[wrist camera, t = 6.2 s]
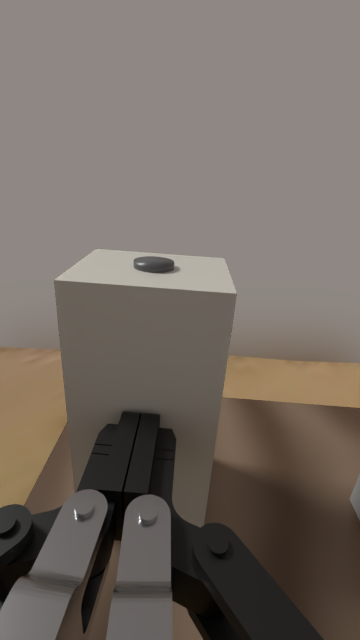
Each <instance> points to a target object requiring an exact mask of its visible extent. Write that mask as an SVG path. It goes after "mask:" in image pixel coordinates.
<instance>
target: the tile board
mask: <svg viewBox="0 0 360 640" xmlns="http://www.w3.org/2000/svg"><path fill="white" fill-rule="evenodd" d="M359 474H360V408H351V407H338V406H325V405H313V404H300V403H287V402H274V401H262V400H249V399H236V398H224V397H222V402H221V409H220V416H219V423H218V430H217V437H216V444H215V451H214V458H213V465H212V472H211V479H210V486H209V493H208V500H207V507H206V514H205V521H204V525H205V524H208V523H220V524H223V525H225V526H227V527H229V528H230V529H231V530H233V532H234V533H235V534H236V535H237V536H238V537H239V538H240V540H241V541H242V542H243V543H244V544H245V546H246V547H247V548H248V549H249V550H250V552H251V553H252V554H253V555H254V556H255V558H256V559H257V560H258V561H259V562H260V564H261V565H262V566H263V567H264V568H265V570H266V571H267V572H268V573H269V574H270V576H271V577H272V578H273V579H274V580H275V582H276V583H277V584H278V585H279V586H280V588H281V589H282V590H283V591H284V592H285V594H286V595H287V596H288V597H289V598H290V600H291V601H292V602H293V603H294V604H295V606H296V607H297V608H298V609H299V610H300V612H301V613H302V614H303V615H304V616H305V618H306V619H307V620H308V621H309V622H310V624H311V625H312V626H313V627H314V628H315V630H316V631H317V632H318V633H319V634H320V636H321V637H322V638H323V639H324V640H360V520H359V518H358V516H357V514H356V512H355V510H354V508H353V506H352V503H351V501H350V497H351V494H352V492H353V489H354V487H355V484H356V482H357V479H358V476H359ZM73 494H74V483H73V473H72V462H71V452H70V441H69V431H68V422H67V424H66V426H65V427H64V429H63V431H62V433H61V435H60V437H59V439H58V441H57V443H56V445H55V447H54V449H53V451H52V452H51V454H50V456H49V458H48V460H47V462H46V464H45V466H44V468H43V470H42V472H41V474H40V476H39V477H38V479H37V481H36V483H35V485H34V487H33V489H32V491H31V493H30V495H29V497H28V499H27V501H26V502H25V504H24V506H25V507H26V508H27V509H28V510H29V511H30V513H31V515H33V514H37V513H42V512H46V511H50V510H54V509H56V508H59V507H61V506H62V505H63V504H64V502H65V501H66V500H67V499H68V498H69V497H70V496H71V495H73ZM120 548H121V541H118V540H114V544H113V548H112V553H111V557H110V564H109V569H108V572H107V576H106V579H105V582H104V586H103V589H102V593H101V596H100V600H99V603H98V606H97V610H96V613H95V617H94V620H93V623H92V627H91V630H90V634H89V637H88V640H106V636H107V628H108V621H109V614H110V607H111V600H112V594H113V590H114V589H115V585H116V579H117V571H118V564H119V556H120ZM172 618H173V640H203V638H202V636H201V635H200V633H199V631H198V630H197V628H196V626H195V624H194V623H193V621H192V619H191V618H190V616H189V614H188V611H187V608H185V607H183V606H181V605H179V604H178V603H176V602H174V601H172Z"/></svg>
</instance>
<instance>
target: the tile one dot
mask: <svg viewBox="0 0 360 640" xmlns="http://www.w3.org/2000/svg"><path fill="white" fill-rule="evenodd" d="M54 285H55V296H56V306H57V316H58V326H59V336H60V348H61V358H62V369H63V379H64V389H65V400H66V410H67V421H68V431H69V441H70V452H71V462H72V473H73V483H74V493H76V491H77V489H78V486H79V483H80V481H81V478H82V476H83V473H84V470H85V468H86V465H87V462H88V460H89V457H90V455H91V452H92V449H93V447H94V445H95V441H96V439H97V436H98V433H99V432H100V431H101V430H102V429H103V428H104V427H105V426H106V425H107V424H119V420H120V417H121V414H122V412H123V411H127V412H139V413H141V415H142V413H152V414H160V428H169V429H172V430H173V432H174V435H175V437H176V451H175V465H174V478H173V491H172V502H173V506H174V509H175V510H176V512H177V513H178V515H179V516H180V517H181V518H182V519H184V520H185V521H187V522H189V523H191V524H193V525H196V526H198V527H202V526H203V525H204V521H205V514H206V507H207V500H208V493H209V486H210V479H211V472H212V465H213V458H214V451H215V444H216V437H217V430H218V423H219V416H220V409H221V402H222V395H223V387H224V380H225V373H226V366H227V359H228V351H229V345H230V338H231V331H232V324H233V317H234V310H235V303H236V296H237V293H236V290H235V287H234V284H233V282H232V279H231V276H230V273H229V270H228V268H227V265H226V262H225V259H224V258H212V257H199V256H185V255H184V256H183V255H171V254H158V253H144V252H130V251H117V250H116V251H115V250H103V249H96V250H94V251H93V252H92V253H90V254H89V255H87V256H86V257H85V258H83V259H82V260H81V261H79V262H78V263H76V264H75V265H74V266H73V267H71V268H70V269H68V270H67V271H66V272H64V273H63V274H62V275H60V276H59V277H57V278H56V279H55V280H54Z"/></svg>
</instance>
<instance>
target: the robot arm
mask: <svg viewBox="0 0 360 640" xmlns="http://www.w3.org/2000/svg"><path fill="white" fill-rule="evenodd" d="M175 451H176V437H175V435H174V432H173V430H172V429H169V428H160V414H152V413H142V415H141V413H139V412H127V411H123V412H122V414H121V417H120V420H119V424H107V425H106V426H105V427H104V428H103V429H102V430H101V431H100V432H99V433H98V436H97V439H96V441H95V445H94V447H93V449H92V452H91V455H90V457H89V460H88V462H87V465H86V468H85V470H84V473H83V476H82V478H81V481H80V483H79V486H78V489H77V491H76V493H74V494H73V495H71V496H70V497H69V498H68V499H67V500H66V501H65V502H64V504H63V505H62V506H61V507H59V508H56V509H54V510H50V511H46V512H42V513H37V514H33V515H31V513H30V511H29V510H28V509H27V508H26V507H25V506H22V505H17V504H14V505H8V506H4V507H2V508H0V640H88V637H89V634H90V630H91V627H92V623H93V620H94V617H95V613H96V610H97V606H98V603H99V600H100V596H101V593H102V589H103V586H104V582H105V579H106V576H107V572H108V569H109V564H110V557H111V553H112V548H113V544H114V540H118V541H121V548H120V556H119V564H118V571H117V579H116V585H115V589H114V590H113V594H112V600H111V607H110V614H109V621H108V628H107V636H106V640H173V618H172V601H174V602H176V603H178V604H179V605H181V606H183V607H185V608H187V611H188V614H189V616H190V618H191V619H192V621H193V623H194V624H195V626H196V628H197V630H198V631H199V633H200V635H201V636H202V638H203V640H324V639H323V638H322V637H321V636H320V634H319V633H318V632H317V631H316V630H315V628H314V627H313V626H312V625H311V624H310V622H309V621H308V620H307V619H306V618H305V616H304V615H303V614H302V613H301V612H300V610H299V609H298V608H297V607H296V606H295V604H294V603H293V602H292V601H291V600H290V598H289V597H288V596H287V595H286V594H285V592H284V591H283V590H282V589H281V588H280V586H279V585H278V584H277V583H276V582H275V580H274V579H273V578H272V577H271V576H270V574H269V573H268V572H267V571H266V570H265V568H264V567H263V566H262V565H261V564H260V562H259V561H258V560H257V559H256V558H255V556H254V555H253V554H252V553H251V552H250V550H249V549H248V548H247V547H246V546H245V544H244V543H243V542H242V541H241V540H240V538H239V537H238V536H237V535H236V534H235V533H234V532H233V530H231V529H230V528H229V527H227V526H225V525H223V524H220V523H208V524H205V525H203V526H202V527H198V526H196V525H193V524H191V523H189V522H187V521H185V520H184V519H182V518H181V517H180V516H179V515H178V513H177V512H176V510H175V509H174V506H173V502H172V491H173V478H174V465H175Z"/></svg>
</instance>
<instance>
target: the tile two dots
mask: <svg viewBox="0 0 360 640" xmlns="http://www.w3.org/2000/svg"><path fill="white" fill-rule="evenodd" d="M350 501H351V503H352V506H353V508H354V510H355V512H356V514H357V516H358V518H359V520H360V474H359V476H358V479H357V482H356V484H355V487H354V489H353V492H352V494H351V497H350Z"/></svg>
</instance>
